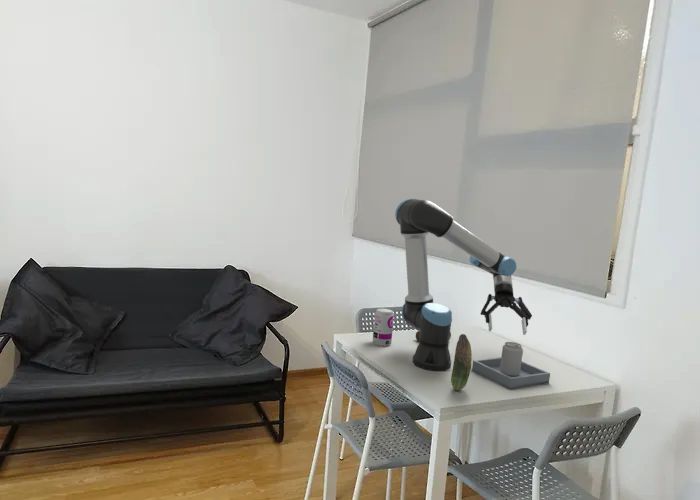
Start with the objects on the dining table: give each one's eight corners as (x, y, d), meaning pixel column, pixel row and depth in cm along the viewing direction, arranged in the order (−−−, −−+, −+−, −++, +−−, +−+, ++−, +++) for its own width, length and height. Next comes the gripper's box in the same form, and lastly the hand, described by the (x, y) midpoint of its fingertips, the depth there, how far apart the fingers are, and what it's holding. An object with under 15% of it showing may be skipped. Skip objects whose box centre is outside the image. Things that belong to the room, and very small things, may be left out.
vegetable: (457, 385, 184) (463, 331, 182) (472, 391, 180) (478, 335, 177) (447, 388, 180) (453, 332, 178) (461, 395, 176) (468, 337, 173)
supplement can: (394, 343, 229) (397, 310, 227) (385, 347, 222) (388, 313, 221) (378, 339, 233) (381, 307, 232) (369, 343, 226) (372, 309, 225)
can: (516, 379, 193) (521, 348, 192) (496, 374, 197) (500, 343, 196) (521, 374, 200) (525, 343, 198) (502, 369, 204) (506, 339, 202)
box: (510, 389, 185) (511, 378, 184) (471, 370, 202) (472, 360, 202) (548, 383, 195) (550, 373, 194) (509, 365, 212) (510, 356, 212)
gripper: (530, 295, 222) (536, 339, 209) (471, 289, 223) (474, 332, 210) (535, 285, 216) (542, 329, 203) (475, 279, 217) (478, 323, 204)
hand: (507, 331), depth 206 cm, fingers open, 13 cm apart
